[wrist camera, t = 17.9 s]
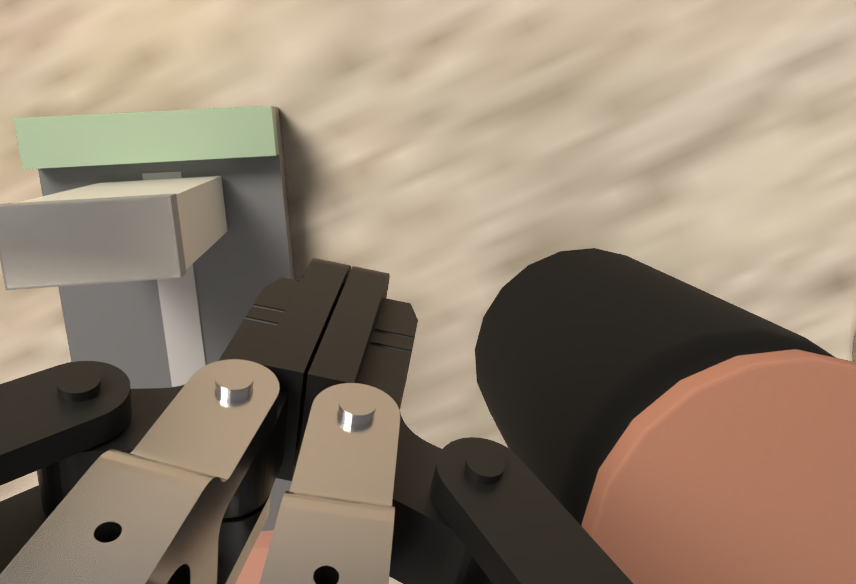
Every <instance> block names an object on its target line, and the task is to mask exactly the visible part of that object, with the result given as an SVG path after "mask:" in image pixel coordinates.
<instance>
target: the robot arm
mask: <svg viewBox="0 0 856 584" xmlns="http://www.w3.org/2000/svg"><path fill="white" fill-rule="evenodd" d="M388 284H389V273H384V272H379V271H374V270H369V269H364V268H359V267H354V266H353V267H352V269H351V266H350V265H345V264H340V263H335V262H330V261H325V260H320V259H315V258H313V260H312V261H311V263H310V265H309V267H308V269H307V271H306V272H305V274H304V276H303V278H302V280H301V281H298V280H293V279H288V278H283V277H281V278H279V279H278V280H276V281H274V282H273V283H271V284H269V285H268V286H266V287H264V288H263V289H262V290H261V292H260V294H259V295H258V297H257V299H256V300H255V302H254V304H253V307H251V308H250V310H249V312H248V313H247V315H246V318H245V319H244V320H243V321H242V323H241V325H240V326H239V328H238V330H237V331H236V333H235V335H234V336H233V338H232V339H231V341H230V343H229V344H228V346H227V348H226V349H225V351H224V352H223V354H222V356H221V357H220V359H219V361H217V362H213V363H210V364H208V365H206V366H204V367H202V368H200V369H199V370H198V371H196V372H195V373H194V374H193V375H192V377H191V378H190V379H189V380H188V382H187V383H186V384H185V385H181V386H176V387H170V388H142V389H130V381H129V378H128V376H127V375H126V374H125V373H124V372H123V371H122V370H121V369H119V368H117V367H116V366H113V365H111V364H108V363H104V362H98V361H76V362H70V363H65V364H62V365H58V366H55V367H52V368H49V369H46V370H43V371H40V372H37V373H34V374H31V375H28V376H24V377H21V378H18V379H15V380H12V381H9V382H6V383H3V384H0V485H3V484H5V483H8V482H10V481H13V480H15V479H17V478H20V477H22V476H25V475H27V474H29V473H32V472H34V471H37V475H38V482H39V485H38V486H36V487H34V488H31V489H29V490H27V491H24V492H22V493H20V494H17V495H15V496H13V497H10V498H8V499H6V500H3V501H1V502H0V584H235V583H236V581H237V579H238V577H239V575H240V573H241V571H242V569H243V567H244V565H245V563H246V561H247V559H248V557H249V554H250V552H251V550H252V548H253V546H254V544H255V542H256V540H257V538H258V536H259V534H260V532H261V530H262V528H263V526H264V524H265V522H266V520H267V517H268V515H269V509H270V497H271V489H272V487H273V484H274V482H275V479H276V478H278V479H283V480H288V481H292V484H291V487H290V491H285V493H284V496H283V499H282V502H281V505H280V509H279V513H278V516H277V520H276V524H275V528H274V531H273V535H272V539H271V542H270V546H269V550H268V553H267V557H266V561H265V565H264V568H263V572H262V576H261V579H260V583H259V584H388V583H389V576H390V577H392V578H394V579H396V580H397V581H399V582H401V583H403V584H633V583H632V581H631V580H630V579H629V578H628V577H627V576H626V575H625V574H624V573H623V572H622V570H621V569H620V568H619V567H618V566H617V565H616V564H615V563H614V562H613V560H612V559H611V558H610V557H609V556H608V555H607V554H606V553H605V552H604V551H603V549H602V548H601V547H600V546H599V545H598V544H597V543H596V542H595V541H594V540H593V538H592V537H591V536H590V535H589V534H588V533H587V532H586V531H585V530H584V528H583V527H582V526H581V525H580V524H579V523H578V522H577V521H576V520H575V519H574V517H573V516H572V515H571V514H570V513H569V512H568V511H567V510H566V509H565V508H564V506H563V505H562V504H561V503H560V502H559V501H558V500H557V499H556V498H555V496H554V495H553V494H552V493H551V492H550V491H549V490H548V489H547V488H546V487H545V485H544V484H543V483H542V482H541V481H540V480H539V479H538V478H537V477H536V476H535V474H534V473H533V472H532V471H531V470H530V469H529V468H528V467H527V466H526V465H525V463H524V462H523V461H522V460H521V459H520V458H519V457H518V456H517V455H516V454H515V453H514V452H513V451H511V450H510V449H508V448H507V447H505V446H503V445H501V444H499V443H497V442H494V441H491V440H488V439H483V438H472V437H471V438H462V439H458V440H455V441H453V442H451V443H449V444H448V445H446V446H445V447H444V448H443V449H440V448H438V447H436V446H434V445H432V444H430V443H428V442H426V441H424V440H422V439H421V438H420V437H418V436H417V435H415V434H414V433H413V432H412V431H411V430H410V429H409V428H408V427H407V425H406V424H405V423H404V421H403V419H402V417H401V414H400V406H401V401H402V397H403V392H404V388H405V383H406V378H407V373H408V368H409V363H410V358H411V353H412V348H413V343H414V338H415V332H416V327H417V322H418V319H417V317H416V315H415V313H414V310H413V308H412V306H411V304H410V303H405V302H400V301H395V300H390V299H386V296H387V290H388ZM853 360H854V363H856V333H855V336H854V346H853Z"/></svg>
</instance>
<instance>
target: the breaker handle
mask: <svg viewBox="0 0 856 584" xmlns="http://www.w3.org/2000/svg"><path fill="white" fill-rule="evenodd" d="M227 231H228V230H227V222H226V213H225V204H224V196H223V187H222V178H221V176H209V177H191V178H174V179H156V180H139V181H121V182H104V183H97V184H93V185H88V186H84V187H80V188H76V189H72V190H67V191H63V192H59V193H55V194H50V195H46V196H42V197H38V198H33V199H29V200H25V201H21V202H17V203H8V204H0V262H1V267H2V272H3V278H4V283H5V288H6V290H16V289H30V288H44V287H58V286H72V285H86V284H100V283H114V282H128V281H142V280H156V279H170V278H181V277H182V276H183V275H184V274H185V273H186V269H187V268H189V267H190V266H191V265H192V264H193V263H194V262H195V261H196V260H197V259H198V258H199V257H200V256H201V255H203V254H204V253H205V252H206V251H207V250H208V249H209V248H210V247H211V246H212V245H213V244H214V243H215V242H217V241H218V240H219V239H220V238H221V237H222V236H223V235H224V234H225V233H226V232H227Z"/></svg>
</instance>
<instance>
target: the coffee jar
mask: <svg viewBox="0 0 856 584" xmlns="http://www.w3.org/2000/svg"><path fill="white" fill-rule="evenodd" d="M475 357H476V373H477V383H478V385H479V387H480V390H481V392H482V395H483V397H484V399H485V402H486V404H487V407H488V409H489V411H490V413H491V415H492V417H493V419H494V421H495V423H496V425H497V427H498V429H499V430H500V432H501V434H502V436H503V438H504V440H505V442H506V444H507V446H508V448H509V449H510V450H511V451H513V452H514V453H515V454H516V455H517V456H518V457H519V458H520V459H521V460H522V461H523V462H524V463H525V465H526V466H527V467H528V468H529V469H530V470H531V471H532V472H533V473H534V474H535V476H536V477H537V478H538V479H539V480H540V481H541V482H542V483H543V484H544V485H545V487H546V488H547V489H548V490H549V491H550V492H551V493H552V494H553V495H554V496H555V498H556V499H557V500H558V501H559V502H560V503H561V504H562V505H563V506H564V508H565V509H566V510H567V511H568V512H569V513H570V514H571V515H572V516H573V517H574V519H575V520H576V521H577V522H578V523H579V524H580V525H581V526H582V527H583V528H584V530H585V531H586V532H587V533H588V534H589V535H590V536H591V537H592V538H593V540H594V541H595V542H596V543H597V544H598V545H599V546H600V547H601V548H602V549H603V551H604V552H605V553H606V554H607V555H608V556H609V557H610V558H611V559H612V560H613V562H614V563H615V564H616V565H617V566H618V567H619V568H620V569H621V570H622V572H623V573H624V574H625V575H626V576H627V577H628V578H629V579H630V580H631V581H632V583H633V584H856V363H854V362H851V361H848V360H843V359H838V358H836V357H834V356H832V355H831V354H829V353H828V352H826V351H825V350H823V349H822V348H820V347H819V346H817V345H816V344H814V343H813V342H811V341H809V340H808V339H806V338H805V337H802V336H800V335H798V334H796V333H794V332H792V331H789V330H787V329H785V328H783V327H781V326H778V325H776V324H774V323H772V322H770V321H768V320H765V319H763V318H761V317H759V316H757V315H754V314H752V313H750V312H748V311H746V310H744V309H741V308H739V307H737V306H735V305H733V304H730V303H728V302H726V301H724V300H722V299H720V298H717V297H715V296H713V295H711V294H709V293H706V292H704V291H702V290H700V289H698V288H696V287H693V286H691V285H689V284H687V283H685V282H682V281H680V280H678V279H676V278H674V277H672V276H669V275H667V274H665V273H663V272H661V271H658V270H656V269H654V268H652V267H650V266H648V265H645V264H643V263H641V262H639V261H637V260H634V259H632V258H630V257H628V256H625V255H621V254H617V253H612V252H608V251H604V250H599V249H595V248H592V249H582V250H571V251H561V252H558V253H556V254H554V255H551V256H549V257H547V258H544V259H542V260H540V261H537V262H535V263H533V264H530V265H528V266H527V267H526V268H525V269H524V270H522V271H521V272H520V273H519V274H518V275H517V276H515V277H514V278H513V279H512V280H511V281H510V282H508V283H507V284H506V285H505V286H504V287H503V288H502V289H501V290H500V292H499V294H498V295H497V297H496V298H495V300H494V301H493V303H492V305H491V306H490V308H489V309H488V311H487V312H486V314H485V316H484V317H483V321H482V325H481V329H480V332H479V336H478V340H477V344H476V347H475Z"/></svg>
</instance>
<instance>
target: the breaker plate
mask: <svg viewBox="0 0 856 584" xmlns="http://www.w3.org/2000/svg"><path fill="white" fill-rule="evenodd" d="M13 119H14V124H15V130H16V136H17V141H18V147H19V153H20V158H21V164H22V169H38V171H39V177H40V183H41V188H42V194H43V196H46V195H50V194H55V193H59V192H63V191H67V190H72V189H76V188H80V187H84V186H88V185H93V184H97V183H104V182H121V181H139V180H156V179H174V178H191V177H209V176H221V178H222V187H223V196H224V204H225V213H226V222H227V230H228V231H227V232H226V233H225V234H224V235H223V236H222V237H221V238H220V239H219V240H218V241H217V242H215V243H214V244H213V245H212V246H211V247H210V248H209V249H208V250H207V251H206V252H205V253H204V254H203V255H201V256H200V257H199V258H198V259H197V260H196V261H195V262H194V263H193V264H192V265H191V266H190V267H189V268H187V269H186V273H185V274H184V275H183V276H182V277H181V278H170V279H156V280H142V281H128V282H114V283H100V284H86V285H72V286H58V287H59V292H60V298H61V304H62V310H63V316H64V321H65V327H66V333H67V339H68V344H69V350H70V356H71V362H76V361H98V362H104V363H108V364H111V365H113V366H116V367H117V368H119V369H121V370H122V371H123V372H124V373H125V374H126V375H127V376H128V378H129V381H130V389H142V388H170V387H176V386H181V385H185V384H186V383H187V382H188V380H189V379H190V378H191V377H192V375H193V374H194V373H195V372H196V371H198V370H199V369H200V368H202V367H204V366H206V365H208V364H210V363H213V362H217V361H219V359H220V357H221V356H222V354H223V352H224V351H225V349H226V348H227V346H228V344H229V343H230V341H231V339H232V338H233V336H234V335H235V333H236V331H237V330H238V328H239V326H240V325H241V323H242V321H243V320H244V319H245V318H246V315H247V313H248V312H249V310H250V308H251V307H253V304H254V302H255V300H256V299H257V297H258V295H259V294H260V292H261V290H262V289H263V288H264V287H266V286H268V285H269V284H271V283H273V282H274V281H276V280H278V279H279V278H281V277H283V278H288V279H293V280H295V277H294V266H293V256H292V245H291V235H290V224H289V214H288V203H287V193H286V182H285V172H284V161H283V151H282V140H281V129H280V119H279V108H277V107H274V106H255V107H234V108H213V109H192V110H171V111H150V112H129V113H109V114H88V115H67V116H46V117H25V118H13ZM291 484H292V481H288V480H283V479H278V478H276V479H275V482H274V484H273V487H272V489H271V497H270V509H269V515H268V517H267V520H266V522H265V524H264V526H263V528H262V530H261V532H260V534H259V536H258V538H257V540H256V542H255V544H254V546H253V548H252V550H251V552H250V554H249V557H248V559H247V561H246V563H245V565H244V567H243V569H242V571H241V573H240V575H239V577H238V579H237V581H236V583H235V584H259V583H260V579H261V576H262V572H263V568H264V565H265V561H266V557H267V553H268V550H269V546H270V542H271V539H272V535H273V531H274V528H275V524H276V520H277V516H278V513H279V509H280V505H281V502H282V499H283V496H284V493H285V491H290V487H291Z"/></svg>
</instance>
